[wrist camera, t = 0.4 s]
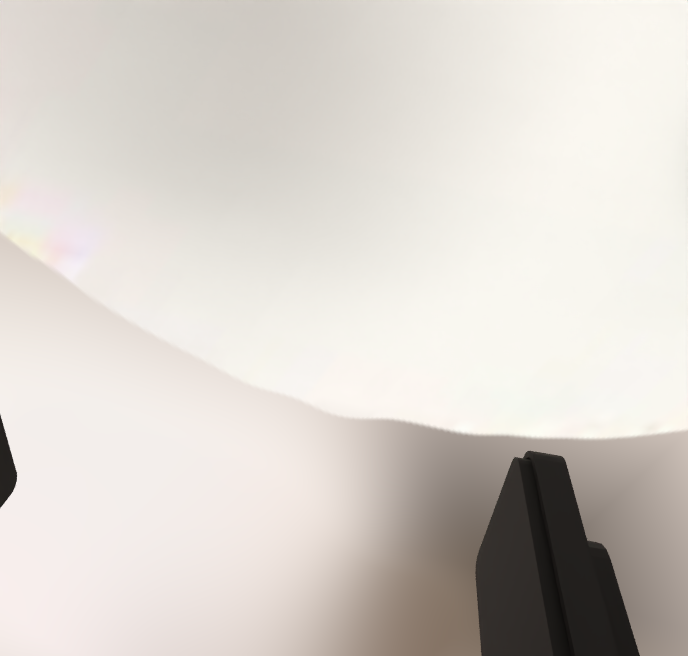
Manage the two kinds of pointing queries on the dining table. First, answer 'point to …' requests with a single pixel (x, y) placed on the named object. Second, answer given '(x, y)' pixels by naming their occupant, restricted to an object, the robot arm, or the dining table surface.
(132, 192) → the dining table surface
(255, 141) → the dining table surface
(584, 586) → the robot arm
